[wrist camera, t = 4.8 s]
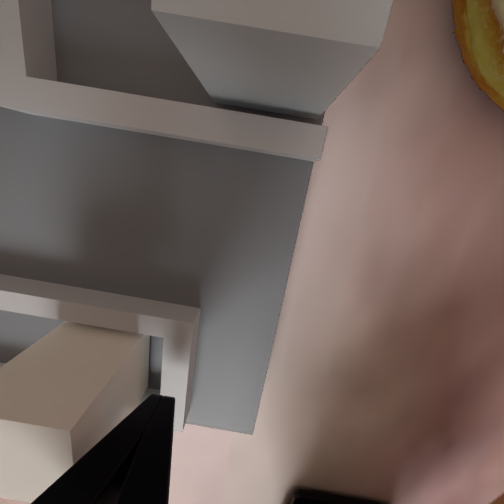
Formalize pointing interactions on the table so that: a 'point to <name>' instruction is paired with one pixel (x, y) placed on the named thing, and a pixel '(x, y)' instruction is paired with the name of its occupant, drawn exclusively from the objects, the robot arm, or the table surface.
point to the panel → (144, 203)
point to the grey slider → (275, 48)
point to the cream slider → (65, 401)
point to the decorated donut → (482, 43)
